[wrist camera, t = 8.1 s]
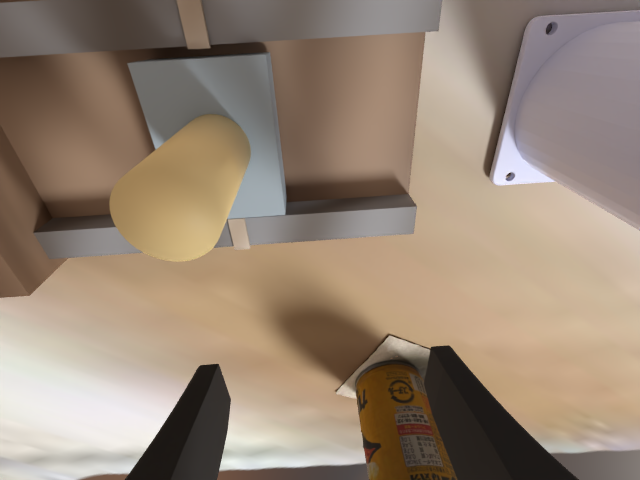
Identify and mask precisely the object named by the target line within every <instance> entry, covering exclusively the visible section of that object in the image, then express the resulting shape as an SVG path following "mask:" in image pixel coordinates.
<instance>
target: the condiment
mask: <svg viewBox="0 0 640 480" xmlns="http://www.w3.org/2000/svg"><path fill="white" fill-rule="evenodd" d="M429 355H430V350H429V349H426V348H423V347H421V346H420V345H415V344H412V343H409V342H407V341H405V340H402V339H398V338H395V337H392V336H389V337H388V338H387V339H386V340H385V341H384V342H383V343H382V344H381V345H380V346H379V347H378V349H377V350H376V351H375V352H374V353H373V354H372V355H371V356H370V357H369V359H367V360H366V361H365V362H364V363H363V364H362V365H361V366H360V367H359V368H358V369H357V370H356V371H355V372H354V373H353V374H352V375H351V376H350V378H349V379H347V381H346V382H345V383H344V384H343V385H342V386H341V387H340V388H339V390H338V391H337V392H336V394H339V395H342V396H346V397H350V398H355V399H357V405H358V412H359V417H360V425H361V432H362V436H363V447H364V451H365V458H366V464H367V471H368V476H369V480H457V477H456V475H455V472H454V469H453V467H452V464H451V462H450V459H449V457H448V454H447V452H446V449H445V446H444V444H443V441H442V439H441V436H440V434H439V431H438V428H437V426H436V423H435V421H434V418H433V415H432V412H431V408H430V405H429V401H428V398H427V394H426V390H425V386H424V380H425V375H426V370H427V365H428V360H429ZM395 356H398V357H395ZM391 358H392V359H391Z"/></svg>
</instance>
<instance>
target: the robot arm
mask: <svg viewBox="0 0 640 480" xmlns="http://www.w3.org/2000/svg"><path fill="white" fill-rule="evenodd" d="M550 22H551V24H552V29H551V31H550V32H549V33H548V34H546V28H547V25H548V24H549V23H550ZM508 173H511V175H510V177H508V178H506V175H507V174H508ZM490 181H491V182H492V183H494V184H495V185H511V184H526V183H541V182H557V183H559V184H561V185H563V186H564V187H566V188H568V189H569V190H571V191H573V192H575V193H576V194H578V195H580V196H581V197H583V198H585V199H587V200H588V201H590V202H592V203H593V204H595V205H597V206H599V207H600V208H602V209H604V210H605V211H607V212H609V213H611V214H612V215H614V216H616V217H617V218H619V219H621V220H623V221H624V222H626V223H628V224H629V225H631V226H633V227H635V228H636V229H638V230H640V10H631V11H614V12H597V13H581V14H564V15H547V16H538V17H535V18H533V19H532V20H531V21H530V22H529V23H528V24H527V27H526V29H525V32H524V37H523V41H522V45H521V49H520V53H519V57H518V61H517V65H516V69H515V74H514V78H513V82H512V86H511V90H510V94H509V98H508V102H507V107H506V111H505V115H504V119H503V123H502V127H501V131H500V135H499V139H498V144H497V148H496V152H495V156H494V160H493V164H492V168H491V172H490ZM424 386H425V390H426V394H427V398H428V401H429V405H430V408H431V412H432V415H433V418H434V421H435V423H436V426H437V428H438V431H439V434H440V436H441V439H442V441H443V444H444V446H445V449H446V452H447V454H448V457H449V459H450V462H451V464H452V467H453V469H454V472H455V475H456V477H457V480H579V479H577V478H576V477H575V476H574V475H573V474H572V473H571V472H569V471H568V470H567V469H566V468H565V467H564V466H562V464H561V463H559V462H558V461H557V460H556V459H555V458H554V457H553V456H552V455H551V454H550V453H549V452H547V451H546V450H545V449H544V448H543V447H542V446H541V445H540V444H539V443H538V442H537V441H536V440H535V439H534V438H533V437H532V436H531V435H530V434H529V433H528V432H527V431H526V430H525V429H524V428H523V427H522V426H521V425H520V424H519V423H518V422H517V421H516V420H515V419H514V418H513V417H512V416H511V415H510V414H509V413H508V412H507V411H506V410H505V409H504V407H503V406H502V405H501V404H500V403H499V402H498V401H497V400H496V399H495V398H494V397H493V396H492V395H491V393H490V392H489V391H488V390H487V389H486V388H485V387H484V386H483V384H482V383H481V382H480V381H479V380H478V379H477V378H476V376H475V375H474V374H473V373H472V372H471V371H470V369H469V368H468V367H467V366H466V365H465V363H464V362H463V361H462V360H461V359H460V357H459V356H458V355H457V354H456V353H455V351H454V350H453V349H452V348H451V347H450V346H436V347H431V350H430V355H429V360H428V365H427V370H426V375H425V380H424ZM230 402H231V399H230V396H229V393H228V390H227V387H226V384H225V381H224V378H223V375H222V372H221V369H220V366H219V364H211V365H200V366H199V367H198V369H197V370H196V372H195V374H194V376H193V377H192V379H191V381H190V383H189V384H188V386H187V388H186V389H185V391H184V393H183V394H182V396H181V398H180V399H179V401H178V402H177V404H176V406H175V407H174V409H173V411H172V412H171V414H170V415H169V417H168V418H167V420H166V421H165V423H164V424H163V426H162V427H161V429H160V431H159V432H158V434H157V435H156V437H155V438H154V440H153V441H152V442H151V444H150V445H149V447H148V448H147V450H146V451H145V452H144V454H143V455H142V457H141V458H140V459H139V461H138V462H137V464H136V465H135V467H134V468H133V469H132V471H131V472H130V473H129V475H128V476H127V477H126V479H125V480H217V477H218V473H219V468H220V463H221V459H222V454H223V450H224V445H225V440H226V435H227V429H228V421H229V412H230Z"/></svg>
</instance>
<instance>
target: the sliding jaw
mask: <svg viewBox="0 0 640 480" xmlns="http://www.w3.org/2000/svg"><path fill="white" fill-rule="evenodd" d="M127 64H128V67H129V70H130V73H131V76H132V79H133V82H134V85H135V88H136V91H137V94H138V97H139V101H140V104H141V107H142V110H143V113H144V116H145V119H146V122H147V125H148V128H149V131H150V134H151V137H152V140H153V144H154V147H155V151H154V152H152V153H151V154H150V155H149V156H147V157H146V158H145V159H144V160H142V161H141V162H140V163H139V164H138V165H136V166H135V167H134V168H133V169H131V170H130V171H129V172H128V173H126V174H125V175H124V176H123V177H122V178H121V179H120V180H118V182H117V183H116V184H115V186H114V188H113V190H112V192H111V196H110V202H109V205H110V213H111V217H112V219H113V222H114V224H115V226H116V228H117V229H118V231H119V232H120V234H121V235H122V236H123V237H124V238H125V239H126V240H127V241H128V242H129V243H130V244H131V245H133V246H134V247H135V248H137V249H138V250H140V251H141V252H143V253H145V254H147V255H149V256H152V257H155V258H158V259H161V260H166V261H175V262H177V261H189V260H193V259H196V258H199V257H201V256H203V255H205V254H206V253H208V252H209V251H210V250H211V249H212V248H213V247H214V246H215V245H216V243H217V242H218V240H219V238H220V235H221V233H222V230H223V228H224V225H225V223H226V220H227V219H234V218H248V217H263V216H277V215H285V213H286V201H287V194H286V186H285V177H284V168H283V160H282V151H281V142H280V134H279V125H278V116H277V108H276V99H275V90H274V82H273V73H272V64H271V56H270V52H263V53H246V54H230V55H213V56H197V57H180V58H164V59H148V60H143V61H137V62H131V63H127Z"/></svg>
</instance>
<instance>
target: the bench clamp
mask: <svg viewBox="0 0 640 480" xmlns="http://www.w3.org/2000/svg"><path fill="white" fill-rule="evenodd" d="M441 5H442V0H0V298H2V297H16V296H30V295H31V294H32V293H33V292H34V291H35V290H36V289H37V288H38V287H39V286H40V285H41V284H42V283H43V282H44V281H45V280H46V279H47V278H48V277H49V276H50V275H51V274H52V273H53V272H54V271H55V270H56V269H57V268H58V267H59V266H60V265H61V264H63V263H64V262H65V261H66V260H67V259H68V258H73V257H88V256H102V255H116V254H130V253H143V252H141V251H140V250H138V249H137V248H135V247H134V246H133V245H131V244H130V243H129V242H128V241H127V240H126V239H125V238H124V237H123V236H122V235H121V234H120V232H119V231H118V229H117V228H116V226H115V224H114V222H113V219H112V217H111V213H110V205H109V202H110V196H111V192H112V190H113V188H114V186H115V184H116V183H117V182H118V180H120V179H121V178H122V177H123V176H124V175H125V174H126V173H128V172H129V171H130V170H131V169H133V168H134V167H135V166H136V165H138V164H139V163H140V162H141V161H142V160H144V159H145V158H146V157H147V156H149V155H150V154H151V153H152V152H154V151H155V147H154V144H153V140H152V137H151V134H150V131H149V128H148V125H147V122H146V119H145V116H144V113H143V110H142V107H141V104H140V101H139V97H138V94H137V91H136V88H135V85H134V82H133V79H132V76H131V73H130V70H129V67H128V64H127V63H131V62H137V61H143V60H148V59H164V58H180V57H197V56H213V55H230V54H246V53H263V52H270V56H271V64H272V73H273V82H274V90H275V99H276V108H277V116H278V125H279V134H280V142H281V151H282V160H283V168H284V177H285V186H286V194H287V201H286V213H285V215H277V216H263V217H248V218H234V219H227V220H226V223H225V225H224V228H223V230H222V233H221V235H220V238H219V240H218V242H217V243H216V245H215V246H214V247H213V248H216V247H231V246H234V249H235V250H241V249H250V247H251V246H250V245H259V244H273V243H288V242H302V241H316V240H331V239H345V238H359V237H373V236H388V235H402V234H414V226H415V218H416V209H417V206H416V204H415V203H414V201H413V200H412V198H411V197H410V195H409V184H410V175H411V165H412V156H413V146H414V136H415V127H416V117H417V108H418V98H419V89H420V79H421V70H422V60H423V50H424V41H425V32H431V31H438V30H439V22H440V13H441Z"/></svg>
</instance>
